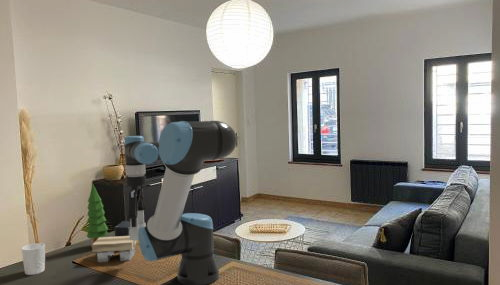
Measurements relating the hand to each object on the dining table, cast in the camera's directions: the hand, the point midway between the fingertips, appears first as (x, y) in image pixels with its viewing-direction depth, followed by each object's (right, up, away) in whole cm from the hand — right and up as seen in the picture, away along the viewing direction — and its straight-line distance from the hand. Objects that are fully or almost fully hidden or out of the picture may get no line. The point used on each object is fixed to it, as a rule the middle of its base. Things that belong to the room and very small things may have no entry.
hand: (137, 230), depth 150 cm
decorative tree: (-26, -13, +25) cm, 39 cm away
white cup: (-39, -16, -3) cm, 42 cm away
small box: (-13, -13, +24) cm, 31 cm away
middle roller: (-16, -14, +10) cm, 24 cm away
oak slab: (-13, -9, +10) cm, 19 cm away
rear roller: (-7, -14, +11) cm, 19 cm away
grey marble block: (0, -2, 0) cm, 2 cm away
